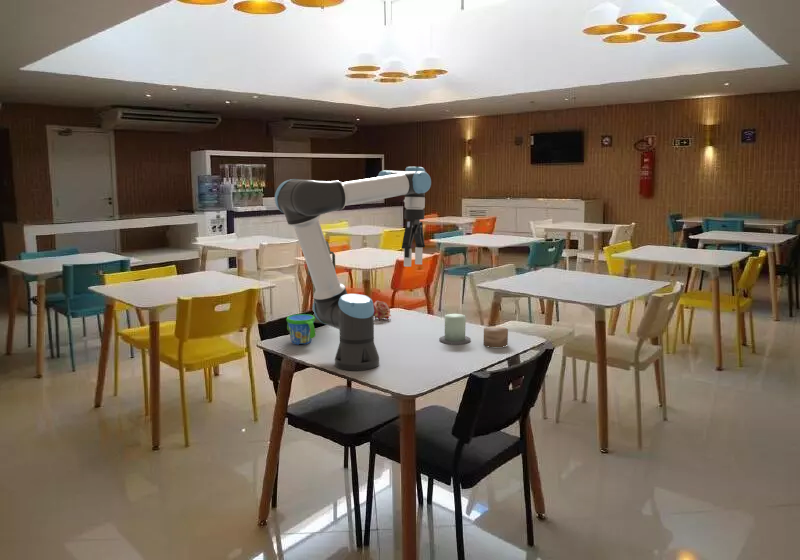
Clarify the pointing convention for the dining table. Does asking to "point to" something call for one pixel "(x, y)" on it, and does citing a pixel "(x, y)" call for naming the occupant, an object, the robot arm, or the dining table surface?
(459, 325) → the cap
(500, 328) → the brown wooden block
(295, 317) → the snack cup
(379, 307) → the flower
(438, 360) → the dining table surface
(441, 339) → the mat
